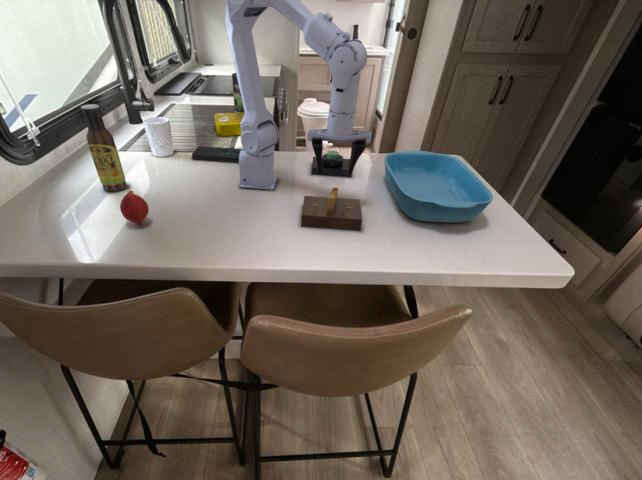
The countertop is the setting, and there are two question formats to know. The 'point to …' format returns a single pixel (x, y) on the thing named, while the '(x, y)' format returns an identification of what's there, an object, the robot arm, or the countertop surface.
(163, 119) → the white cup
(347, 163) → the push button box
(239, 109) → the coffee can
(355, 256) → the countertop surface
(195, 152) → the smart home device
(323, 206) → the plate
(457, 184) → the casserole dish
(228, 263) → the countertop surface
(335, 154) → the release button
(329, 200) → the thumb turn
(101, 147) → the sauce bottle
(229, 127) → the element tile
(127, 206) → the onion
